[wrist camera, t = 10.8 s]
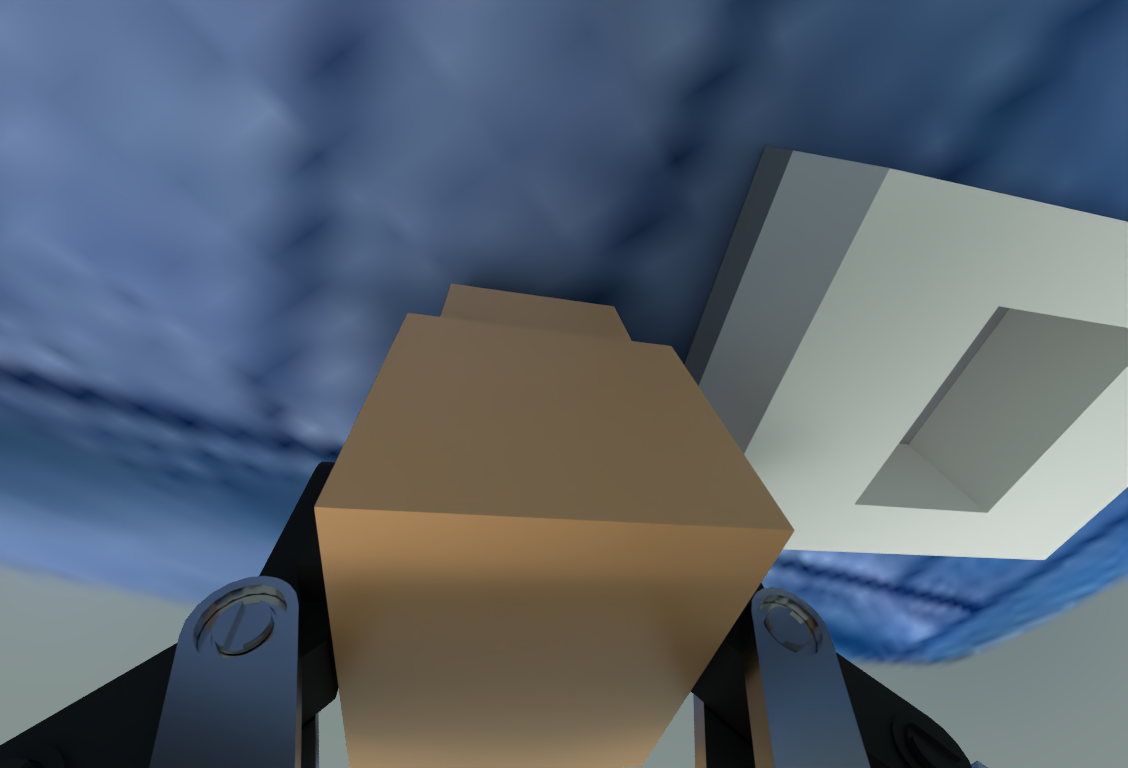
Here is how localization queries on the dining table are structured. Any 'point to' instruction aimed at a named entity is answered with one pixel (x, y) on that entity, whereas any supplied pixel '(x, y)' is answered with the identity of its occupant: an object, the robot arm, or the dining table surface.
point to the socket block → (919, 359)
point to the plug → (532, 540)
